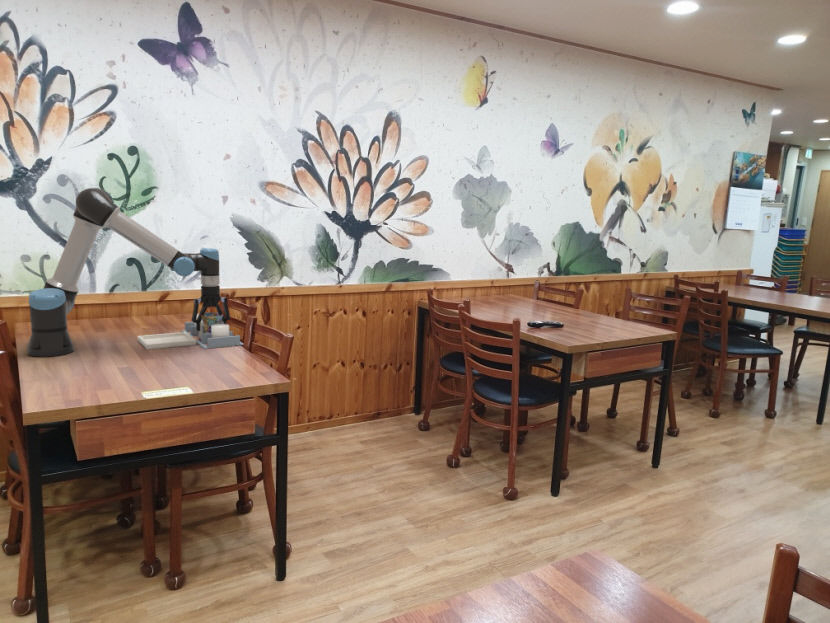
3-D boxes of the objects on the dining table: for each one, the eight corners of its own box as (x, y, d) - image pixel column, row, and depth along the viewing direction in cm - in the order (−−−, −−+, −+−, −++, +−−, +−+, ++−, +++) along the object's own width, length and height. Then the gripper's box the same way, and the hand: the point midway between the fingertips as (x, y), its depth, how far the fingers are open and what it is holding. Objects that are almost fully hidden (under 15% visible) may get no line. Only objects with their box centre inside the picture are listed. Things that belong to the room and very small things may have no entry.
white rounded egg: (214, 347, 248) (214, 327, 247) (209, 343, 254) (209, 324, 252) (231, 345, 252) (231, 326, 251) (226, 341, 258) (225, 323, 256)
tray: (146, 349, 239) (146, 344, 239) (137, 340, 253) (137, 336, 253) (196, 344, 250) (196, 340, 250) (185, 336, 264) (185, 331, 263)
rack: (204, 349, 244) (204, 339, 244) (181, 331, 272) (181, 322, 272) (243, 344, 253) (243, 335, 253) (217, 328, 282) (217, 319, 281)
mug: (227, 339, 261) (226, 315, 259) (205, 342, 255) (204, 317, 253) (216, 334, 270) (216, 310, 268) (195, 336, 265) (195, 312, 263)
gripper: (187, 287, 250) (188, 341, 254) (237, 285, 262) (238, 336, 266) (182, 285, 256) (183, 337, 260) (232, 282, 268) (232, 333, 272)
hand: (211, 337), depth 263 cm, fingers closed on mug, 8 cm apart
